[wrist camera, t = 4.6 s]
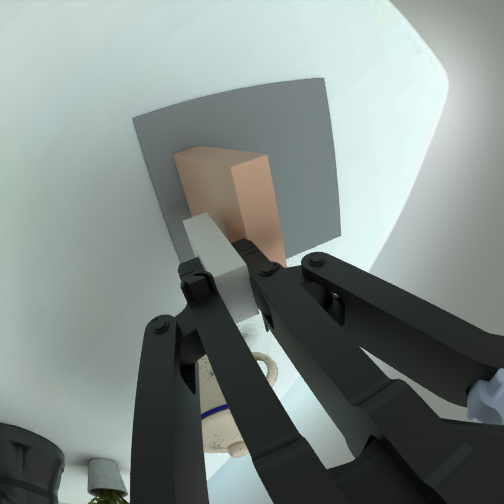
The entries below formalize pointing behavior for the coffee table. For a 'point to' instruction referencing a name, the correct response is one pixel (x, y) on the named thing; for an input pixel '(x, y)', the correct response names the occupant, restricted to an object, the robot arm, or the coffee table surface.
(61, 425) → the coffee table surface
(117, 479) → the house plant
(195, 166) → the tile
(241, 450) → the teacup with lid
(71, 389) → the coffee table surface
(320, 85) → the mat
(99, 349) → the coffee table surface
